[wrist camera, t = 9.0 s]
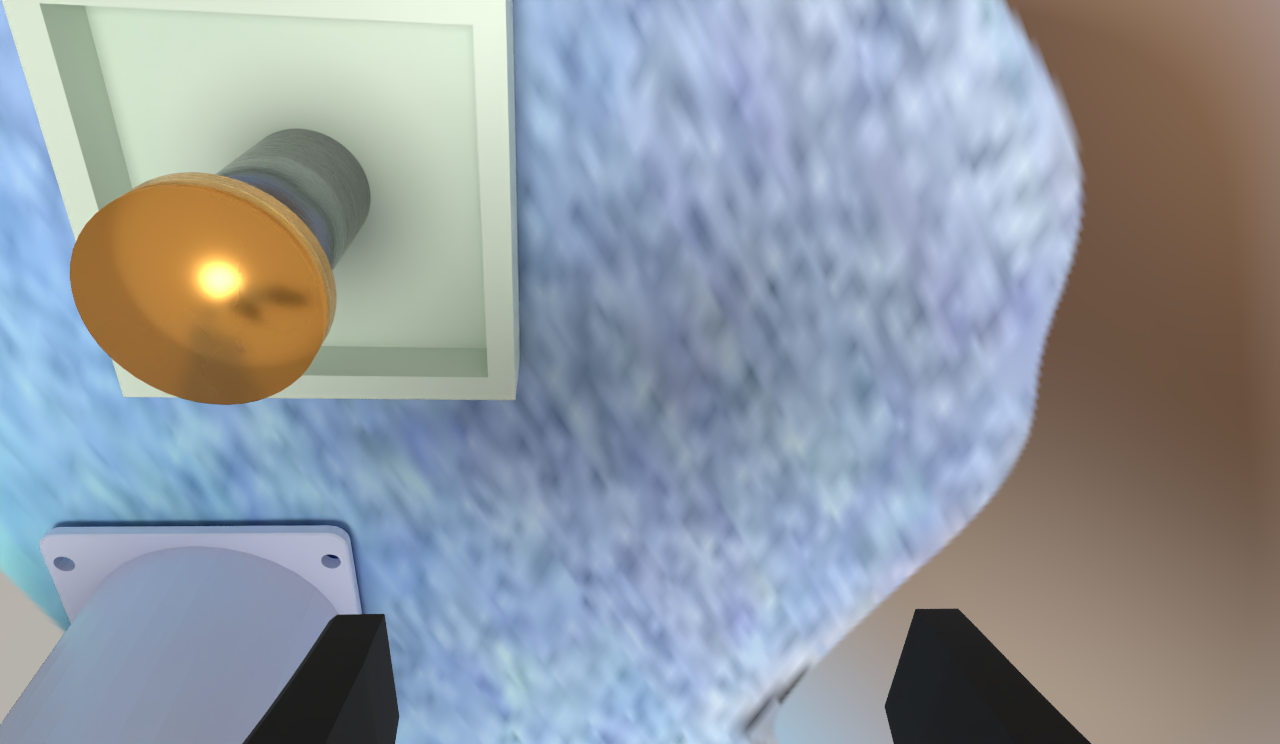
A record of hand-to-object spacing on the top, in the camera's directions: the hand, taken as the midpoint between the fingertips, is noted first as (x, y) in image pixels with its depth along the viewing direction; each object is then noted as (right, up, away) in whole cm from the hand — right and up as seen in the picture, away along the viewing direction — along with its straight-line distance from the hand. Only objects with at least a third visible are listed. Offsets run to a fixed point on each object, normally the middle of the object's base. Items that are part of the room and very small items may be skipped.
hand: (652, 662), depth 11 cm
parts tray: (-7, +8, +7) cm, 13 cm away
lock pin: (-7, +8, +6) cm, 12 cm away
